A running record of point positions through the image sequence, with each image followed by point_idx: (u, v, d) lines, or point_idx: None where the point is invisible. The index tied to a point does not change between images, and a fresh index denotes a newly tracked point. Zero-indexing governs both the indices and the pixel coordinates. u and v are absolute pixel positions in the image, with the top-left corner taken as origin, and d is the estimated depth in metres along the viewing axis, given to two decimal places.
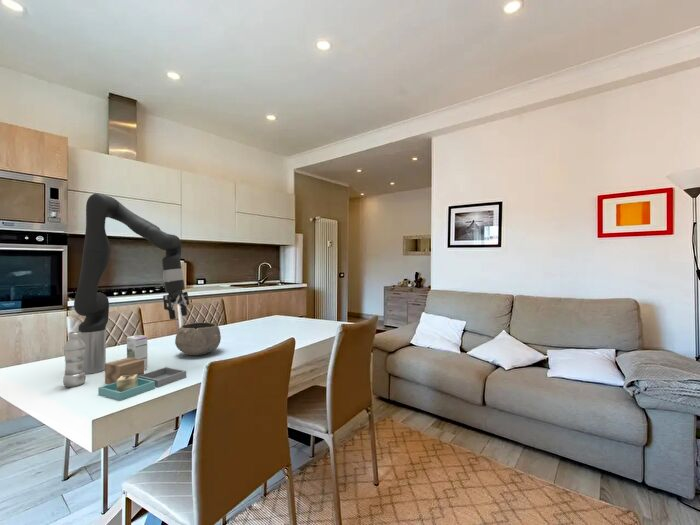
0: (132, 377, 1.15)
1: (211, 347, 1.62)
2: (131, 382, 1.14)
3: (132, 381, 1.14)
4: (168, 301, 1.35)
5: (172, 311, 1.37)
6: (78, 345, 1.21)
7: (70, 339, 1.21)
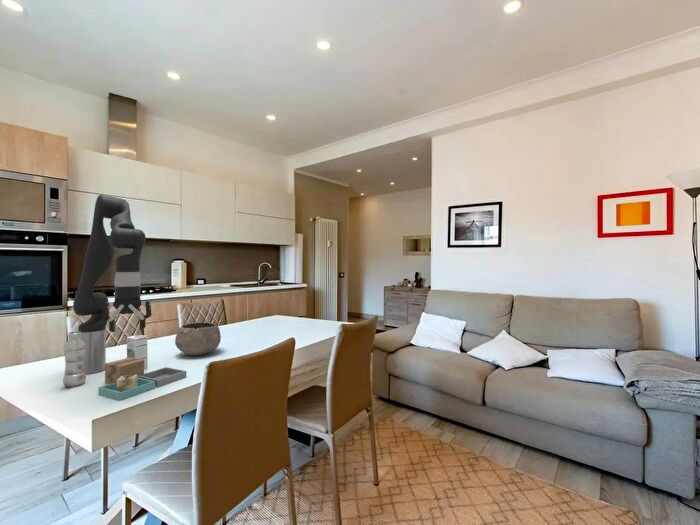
0: (132, 377, 1.15)
1: (211, 347, 1.62)
2: (131, 382, 1.14)
3: (132, 381, 1.14)
4: None
5: (110, 322, 1.14)
6: (78, 345, 1.21)
7: (70, 339, 1.21)
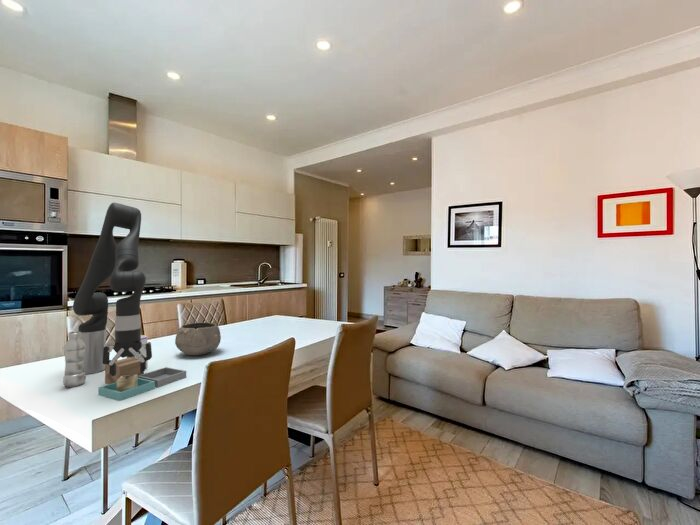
0: (132, 377, 1.15)
1: (211, 347, 1.62)
2: (131, 382, 1.14)
3: (132, 381, 1.14)
4: None
5: (110, 366, 1.13)
6: (78, 345, 1.21)
7: (70, 339, 1.21)
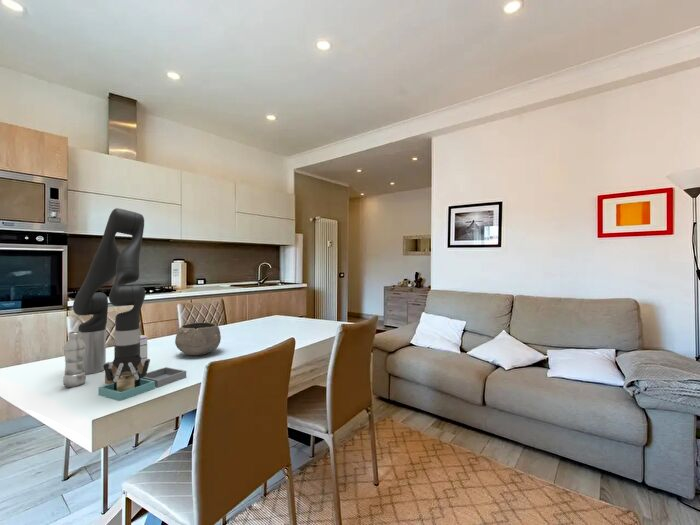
0: (132, 377, 1.15)
1: (211, 347, 1.62)
2: (131, 382, 1.14)
3: (132, 381, 1.14)
4: None
5: (115, 383, 1.14)
6: (78, 345, 1.21)
7: (70, 339, 1.21)
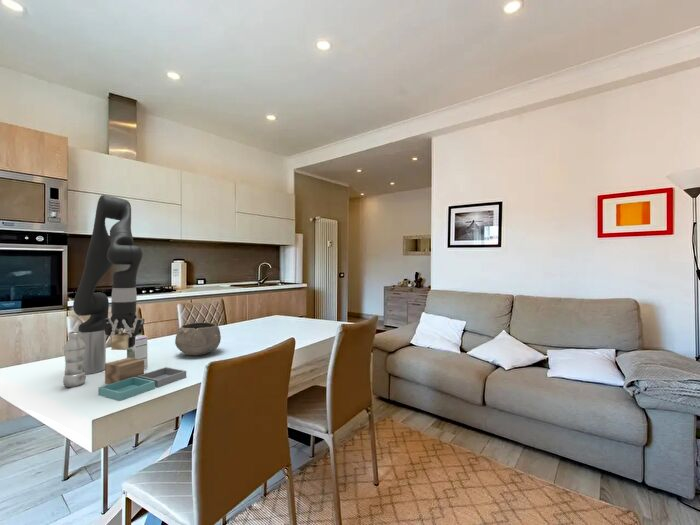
0: (126, 334, 1.18)
1: (211, 347, 1.62)
2: (123, 339, 1.17)
3: (124, 338, 1.17)
4: None
5: None
6: (78, 345, 1.21)
7: (70, 339, 1.21)
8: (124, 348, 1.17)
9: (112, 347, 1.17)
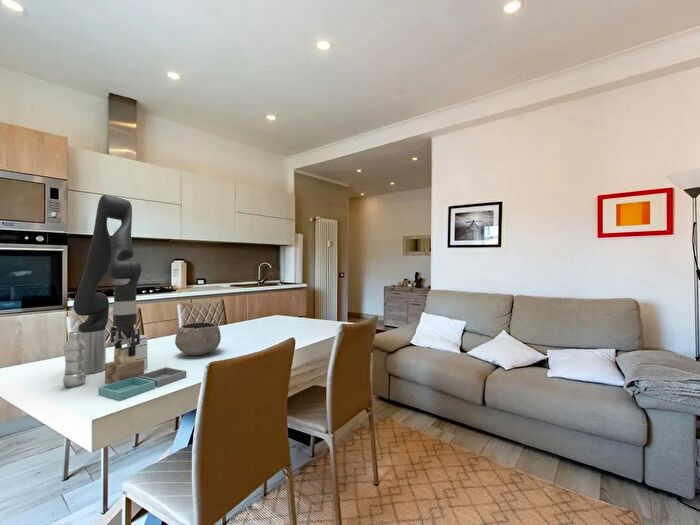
0: (125, 349, 1.24)
1: (211, 347, 1.62)
2: (121, 354, 1.23)
3: (121, 353, 1.23)
4: None
5: (115, 345, 1.27)
6: (78, 345, 1.21)
7: (70, 339, 1.21)
8: (121, 362, 1.23)
9: (114, 360, 1.25)
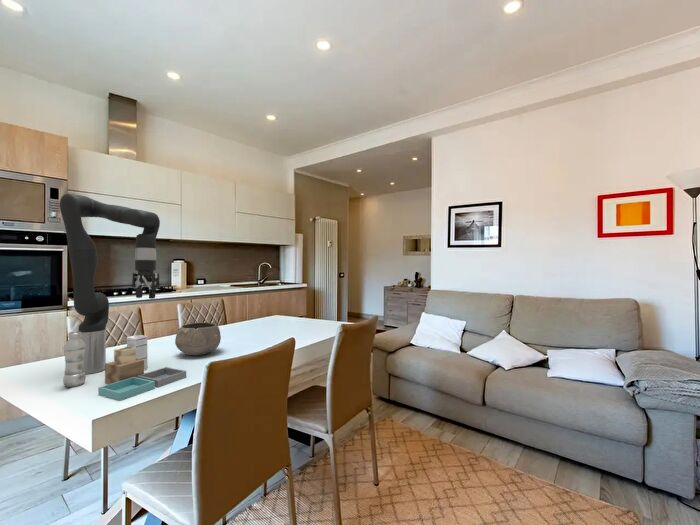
0: (125, 349, 1.24)
1: (211, 347, 1.62)
2: (121, 354, 1.23)
3: (121, 353, 1.23)
4: None
5: (136, 290, 1.38)
6: (78, 345, 1.21)
7: (70, 339, 1.21)
8: (121, 362, 1.23)
9: (114, 360, 1.25)
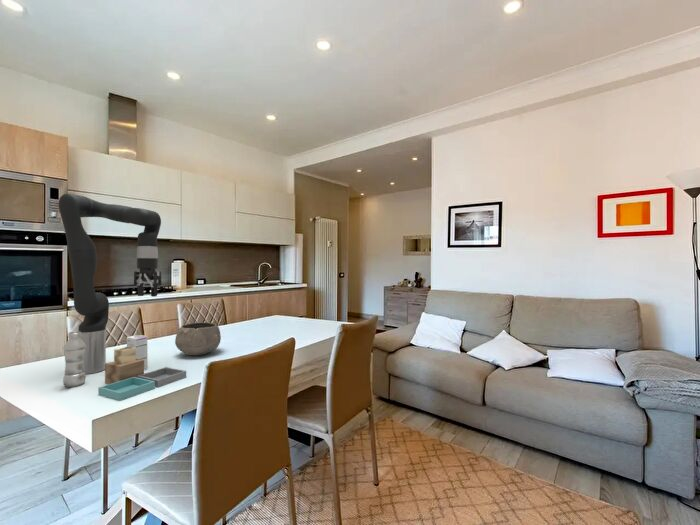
0: (125, 349, 1.24)
1: (211, 347, 1.62)
2: (121, 354, 1.23)
3: (121, 353, 1.23)
4: None
5: (138, 288, 1.39)
6: (78, 345, 1.21)
7: (70, 339, 1.21)
8: (121, 362, 1.23)
9: (114, 360, 1.25)
